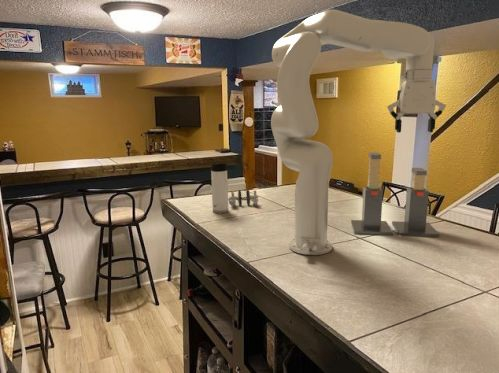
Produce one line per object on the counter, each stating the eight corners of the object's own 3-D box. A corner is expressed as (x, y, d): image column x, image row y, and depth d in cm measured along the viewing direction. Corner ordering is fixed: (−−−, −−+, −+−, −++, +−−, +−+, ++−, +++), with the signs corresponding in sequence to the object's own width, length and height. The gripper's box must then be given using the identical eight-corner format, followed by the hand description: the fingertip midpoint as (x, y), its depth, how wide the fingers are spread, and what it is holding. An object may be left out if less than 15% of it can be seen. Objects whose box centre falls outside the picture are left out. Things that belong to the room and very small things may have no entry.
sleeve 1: (392, 235, 123) (395, 193, 120) (354, 233, 125) (356, 192, 122) (386, 223, 134) (388, 185, 131) (350, 222, 136) (352, 184, 133)
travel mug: (214, 214, 149) (212, 163, 145) (211, 209, 156) (209, 161, 151) (230, 212, 151) (228, 162, 147) (226, 208, 157) (225, 160, 153)
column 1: (377, 213, 125) (381, 154, 121) (368, 213, 126) (371, 154, 122) (375, 208, 131) (378, 152, 127) (365, 208, 131) (368, 152, 127)
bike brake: (261, 206, 158) (255, 201, 177) (260, 189, 157) (254, 186, 177) (228, 208, 156) (226, 203, 176) (227, 191, 156) (225, 188, 176)
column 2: (422, 229, 124) (427, 171, 120) (411, 229, 124) (416, 170, 120) (417, 224, 130) (421, 167, 126) (407, 223, 130) (411, 167, 126)
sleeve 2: (439, 237, 121) (443, 194, 118) (399, 235, 123) (402, 193, 120) (428, 225, 132) (431, 185, 129) (391, 224, 134) (394, 185, 131)
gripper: (391, 76, 116) (388, 133, 120) (452, 74, 114) (447, 132, 117) (386, 78, 123) (383, 131, 127) (443, 76, 121) (439, 130, 125)
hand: (414, 132), depth 122 cm, fingers open, 9 cm apart
